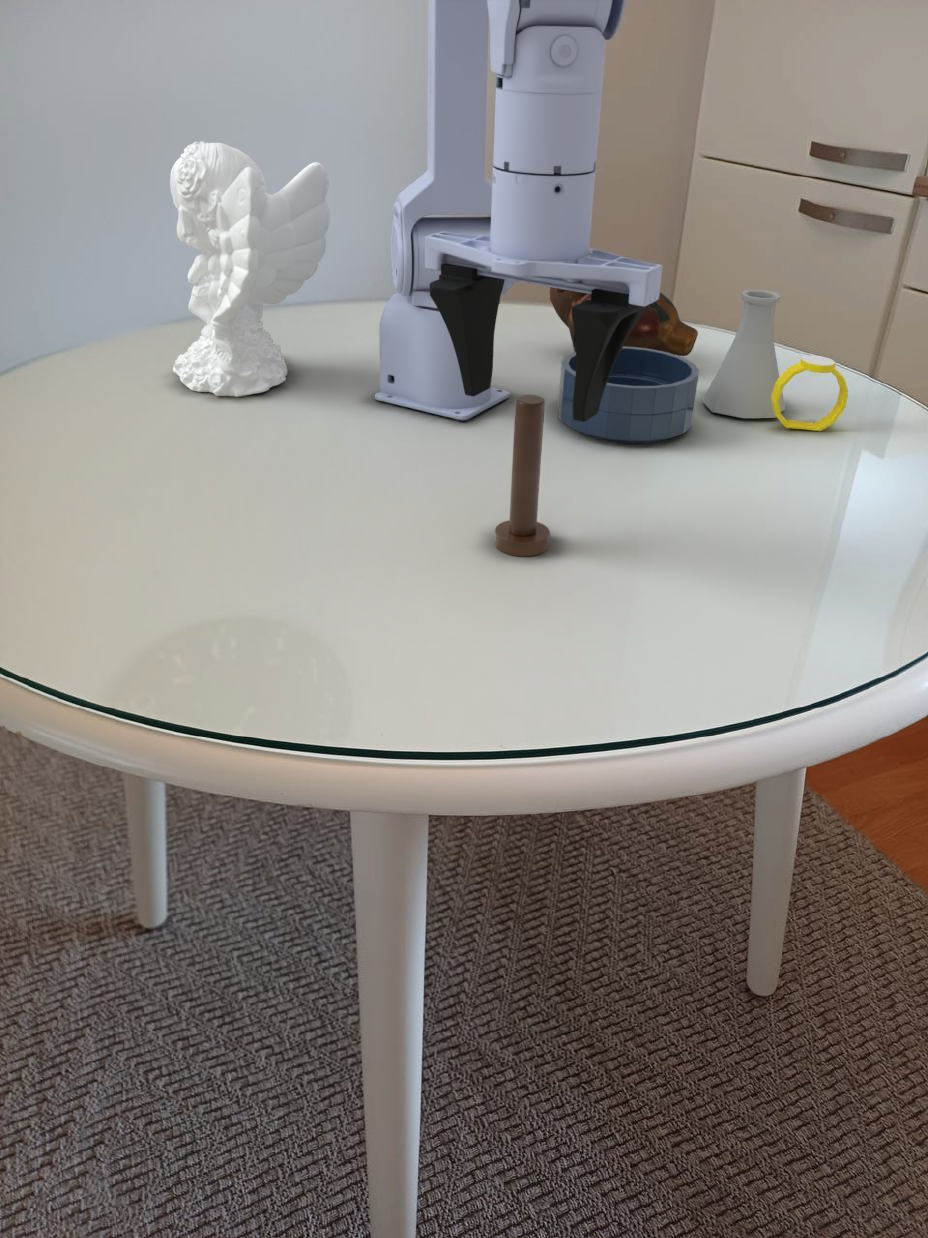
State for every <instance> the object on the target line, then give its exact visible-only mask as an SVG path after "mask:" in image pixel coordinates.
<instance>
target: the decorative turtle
mask: <svg viewBox="0 0 928 1238" xmlns="http://www.w3.org/2000/svg"><path fill="white" fill-rule="evenodd" d="M549 300H550V302H551V304H552V308H553V309H554V311H555V313H556V315H557V317H559V319H560V320H561V322H562V323H563V324H564V325H565V326H566V327H567V329H568V330H569V334H570V335H569V336H570V338H571V343H572V346H573V352H576V347H575V335H574V327H573V320H572V315H571V313H572V307H573V306H575V305H577V304H579V303H581V302H584V301H586V300H591V294H588V293H582V292H576V291H570V290H564V289H558V288H553V287H549ZM698 335H699V332H698V330H697V329H696V328H695V327H693V326H691V325H689V324H686V323H684V322H683V321H681V320H680V315H679V314H678V310H677V308H676V307H675V305H674V303H673V302H672V301H671V300H670V298H668V297H667V296H666V295H665V294H664V293H663V292H661V291H660V294H659V299H658V300H657V301H655V302H653V303H651V304H649V305H647V306H646V309H645V311H644V313H643V314H642V316H641V317H640V319H639V320H638V322H637V323H636V325H635V326H634V328H633V330H632V331H631V333H630V335H629V337H628V338H627V340H626V342H625V344H624V346H626V347H638V348H647V349H653V350H658V351H663V352H668V353H671V354H674V355H677V356H680V357H687V356H688V355H689V354H691V353H692V351H693V349H694V347H695V344H696V341H697V338H698Z"/></svg>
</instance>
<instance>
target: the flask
mask: <svg viewBox="0 0 928 1238" xmlns="http://www.w3.org/2000/svg"><path fill="white" fill-rule="evenodd" d="M781 298H782V295H781V294H779V293H778V292H777V291H772V290H766V289H745V290H744V291H743V292H742V293H741V300H742V301H743V307H742V313H741V318H740V322H739V323H738V327H737V330H736V333H735V336H734V338H733V341H732V342H731V344H730V347H729V348H728V350H727V352H726V355H725V356H724V359H723V360H722V362H721V365H720V366H719V368H718V370H717V372H716V374H715V375H714V378H713V379H712V381H711V383H710V385H709V387H708V388H707V390H706V392H705V394H704V396H703V398H702V400H701V401H702V402H703V404H704V405H705V406H706V407H707V408H708V409H709V411H711V413H714V414H715V413H716V414H721V415H726V416H731V417H735V418H740V419H777V416H776V415H775V413H774V411H773V406H772V400H771V397H772V392H773V389H774V386H775V383H776V381H777V379H778V378H779V377H780V373H779V372H780V371H779V367H778V366H779V365H778V359H777V353H776V347H775V341H774V339H775V338H774V337H775V336H774V333H775V332H774V328H775V327H774V318H775V312H776V306H777V304H778V303H780V301H781ZM779 406H780V412H781V413H783V411H785V409H786V404H785V398H784V393H783V391H782V393H781V396H780V399H779Z"/></svg>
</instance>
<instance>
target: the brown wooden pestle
mask: <svg viewBox="0 0 928 1238" xmlns="http://www.w3.org/2000/svg"><path fill="white" fill-rule="evenodd" d="M545 404H546V400H545V398H544V397H542V396H539V395H536V394H522V395H519V396H517V397H516V398H515V405H514V406H515V407H514V425H513V427H514V428H513V445H512V446H513V447H512V462H511V463H512V464H511V484H510V503H509V518H508V519H507V520H505V521H502V522H500V523H499V524H498V525H496V527H495V530H494V546H495V547H496V549H498V551H500V552H502V553H504V554H507V555H509V556H510V555H511V556H514V557H515V556H516V557H534V556H538V555H541V554H543V553H545V552H546V551H548V549H549V546H550V534H551V531H550V529H549V527H547V525H545V524H544V523H541V522H539V521H538V511H539V510H538V509H539V494H540V479H541V466H542V453H543V452H542V450H543V438H544V437H543V436H544V420H545Z"/></svg>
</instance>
